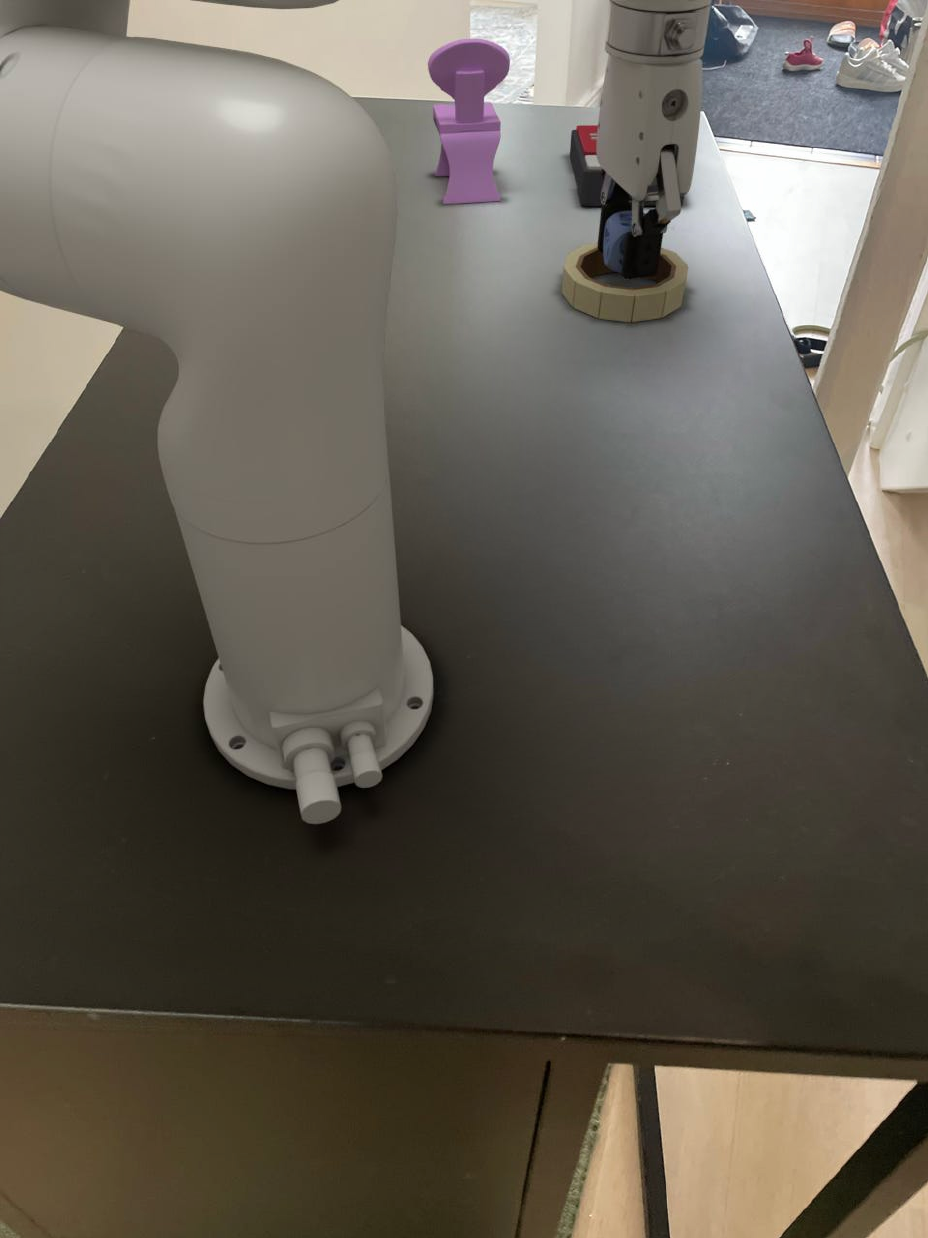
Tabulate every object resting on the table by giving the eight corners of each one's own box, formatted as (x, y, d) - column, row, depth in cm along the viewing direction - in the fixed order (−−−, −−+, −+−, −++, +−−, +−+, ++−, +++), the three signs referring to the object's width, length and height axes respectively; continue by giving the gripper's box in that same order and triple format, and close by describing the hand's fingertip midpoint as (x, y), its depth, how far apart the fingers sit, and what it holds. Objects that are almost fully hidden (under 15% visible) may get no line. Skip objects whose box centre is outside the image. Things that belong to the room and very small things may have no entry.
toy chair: (497, 170, 105) (500, 18, 94) (510, 200, 99) (515, 41, 88) (425, 174, 104) (420, 21, 93) (434, 204, 98) (430, 45, 87)
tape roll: (703, 312, 82) (708, 285, 80) (588, 329, 80) (591, 302, 78) (652, 259, 89) (656, 233, 87) (546, 273, 87) (548, 248, 85)
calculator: (666, 121, 105) (690, 162, 95) (660, 161, 108) (683, 205, 97) (571, 121, 105) (584, 162, 95) (568, 161, 108) (580, 206, 97)
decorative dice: (644, 254, 84) (651, 209, 81) (652, 273, 81) (659, 228, 78) (601, 254, 84) (606, 210, 81) (607, 274, 81) (612, 229, 78)
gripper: (755, 55, 64) (706, 300, 77) (655, -2, 75) (627, 220, 89) (657, 64, 63) (624, 312, 76) (570, 5, 74) (554, 229, 87)
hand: (626, 260), depth 82 cm, fingers closed on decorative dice, 4 cm apart
